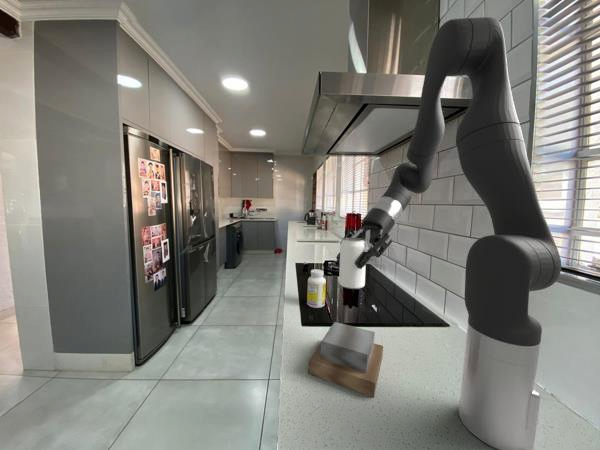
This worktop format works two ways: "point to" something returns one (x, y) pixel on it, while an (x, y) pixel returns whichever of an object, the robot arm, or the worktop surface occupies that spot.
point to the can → (351, 263)
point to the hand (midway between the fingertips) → (347, 263)
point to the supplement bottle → (316, 289)
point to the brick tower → (348, 358)
